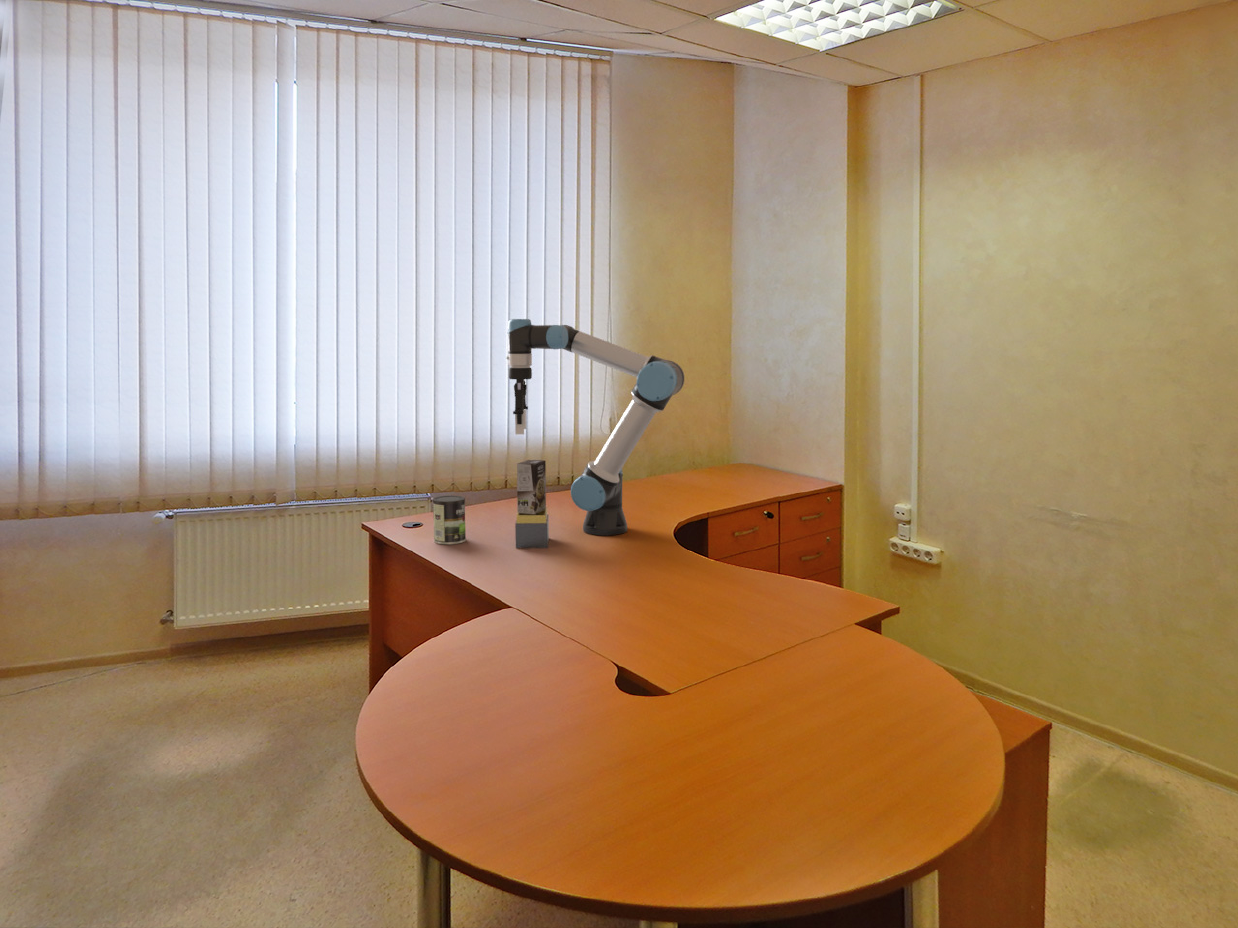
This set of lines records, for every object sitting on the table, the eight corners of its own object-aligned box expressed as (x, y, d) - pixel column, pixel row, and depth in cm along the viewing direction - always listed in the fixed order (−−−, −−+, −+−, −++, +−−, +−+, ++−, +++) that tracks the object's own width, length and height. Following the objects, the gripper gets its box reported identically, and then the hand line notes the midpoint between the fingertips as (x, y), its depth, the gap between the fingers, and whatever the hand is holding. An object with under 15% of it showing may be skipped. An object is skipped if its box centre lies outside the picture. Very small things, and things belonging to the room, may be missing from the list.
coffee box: (535, 514, 266) (534, 464, 263) (516, 513, 268) (516, 463, 265) (546, 509, 274) (546, 460, 272) (528, 507, 276) (528, 458, 274)
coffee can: (470, 537, 279) (469, 495, 277) (458, 545, 269) (457, 502, 267) (441, 536, 281) (440, 494, 279) (428, 543, 271) (427, 500, 269)
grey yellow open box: (548, 538, 279) (548, 506, 277) (547, 547, 267) (547, 515, 265) (518, 538, 278) (517, 507, 277) (515, 548, 266) (515, 515, 265)
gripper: (511, 365, 287) (512, 427, 291) (505, 368, 263) (506, 436, 266) (533, 365, 288) (534, 427, 291) (529, 368, 263) (530, 436, 266)
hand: (521, 431), depth 278 cm, fingers open, 13 cm apart
